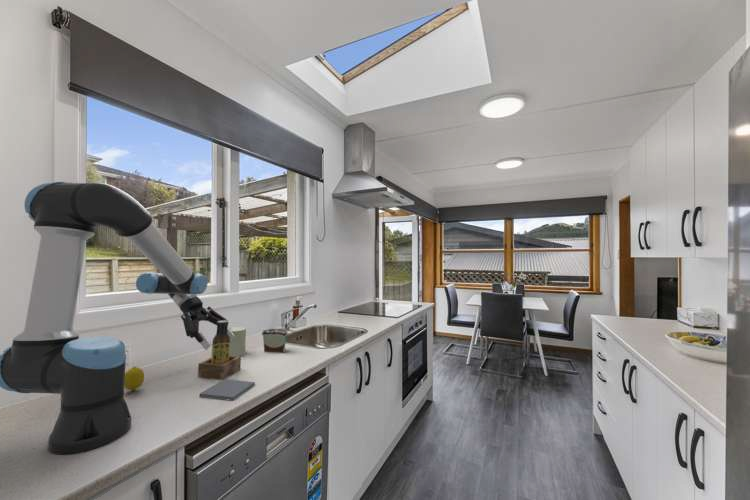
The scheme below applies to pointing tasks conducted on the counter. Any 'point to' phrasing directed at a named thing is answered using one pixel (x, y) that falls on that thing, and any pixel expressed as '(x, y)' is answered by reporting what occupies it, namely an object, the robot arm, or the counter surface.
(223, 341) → the sauce bottle
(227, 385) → the rubber mat
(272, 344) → the food container
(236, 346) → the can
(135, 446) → the counter surface
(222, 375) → the walnut sleeve
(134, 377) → the lemon
